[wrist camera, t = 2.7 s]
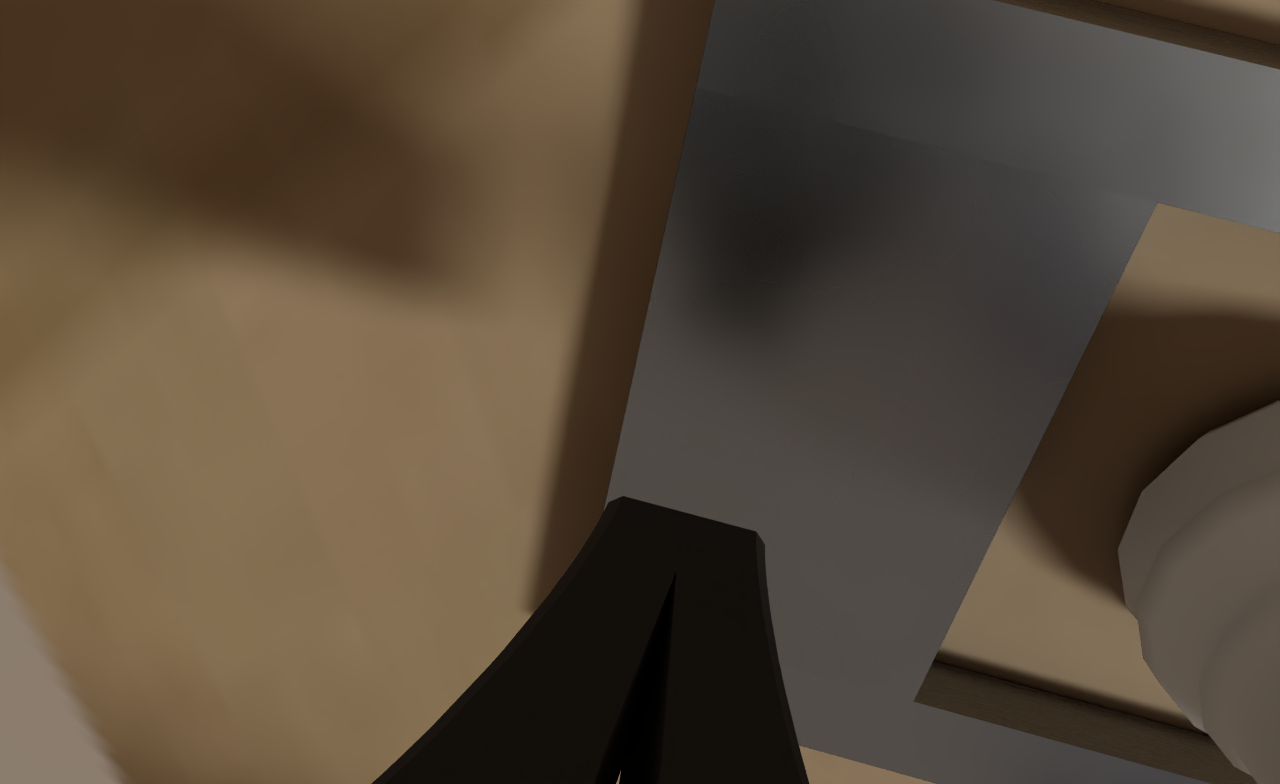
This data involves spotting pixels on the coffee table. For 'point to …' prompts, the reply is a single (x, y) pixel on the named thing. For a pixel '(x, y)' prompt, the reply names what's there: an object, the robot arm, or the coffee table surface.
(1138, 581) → the rook chess piece
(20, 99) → the coffee table surface
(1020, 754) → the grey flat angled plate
